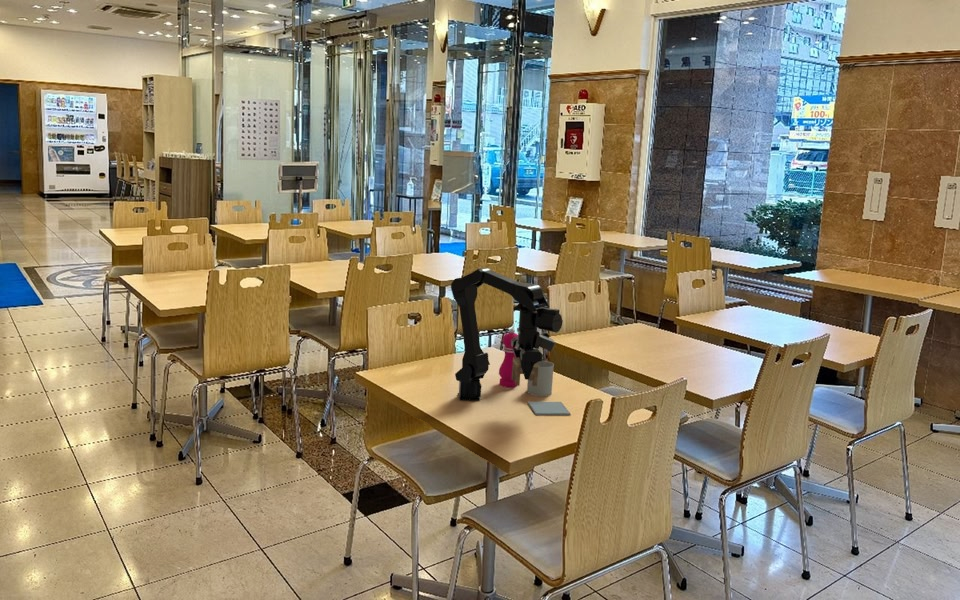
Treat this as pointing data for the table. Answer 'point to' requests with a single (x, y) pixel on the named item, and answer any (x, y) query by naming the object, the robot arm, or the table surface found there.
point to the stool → (518, 370)
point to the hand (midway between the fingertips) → (524, 376)
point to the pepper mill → (507, 361)
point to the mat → (548, 408)
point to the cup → (542, 380)
